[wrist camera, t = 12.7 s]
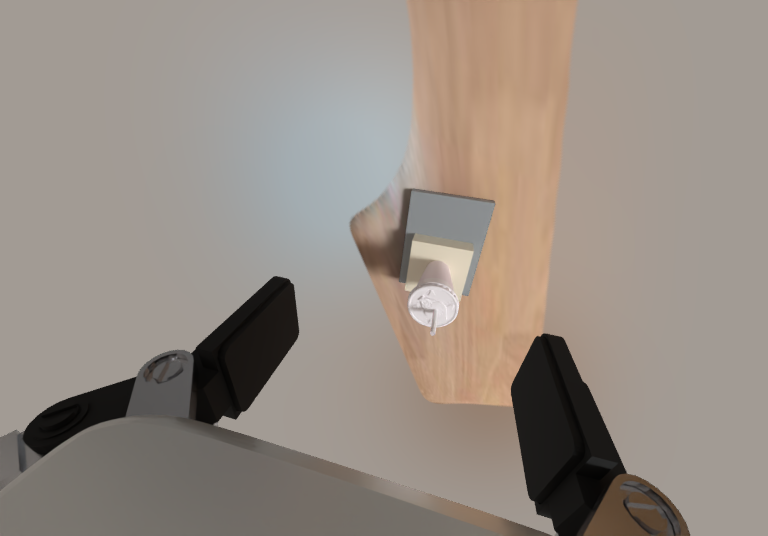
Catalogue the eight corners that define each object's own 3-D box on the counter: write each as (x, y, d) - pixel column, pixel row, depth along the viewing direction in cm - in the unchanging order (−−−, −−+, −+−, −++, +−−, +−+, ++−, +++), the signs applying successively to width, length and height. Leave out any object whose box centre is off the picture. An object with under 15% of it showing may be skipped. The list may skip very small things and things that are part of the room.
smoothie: (438, 296, 45) (430, 360, 33) (408, 271, 44) (389, 328, 32) (468, 271, 42) (471, 333, 30) (436, 244, 41) (427, 295, 29)
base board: (412, 188, 42) (408, 195, 38) (494, 200, 40) (497, 209, 36) (400, 277, 50) (395, 290, 46) (467, 291, 48) (468, 306, 44)
